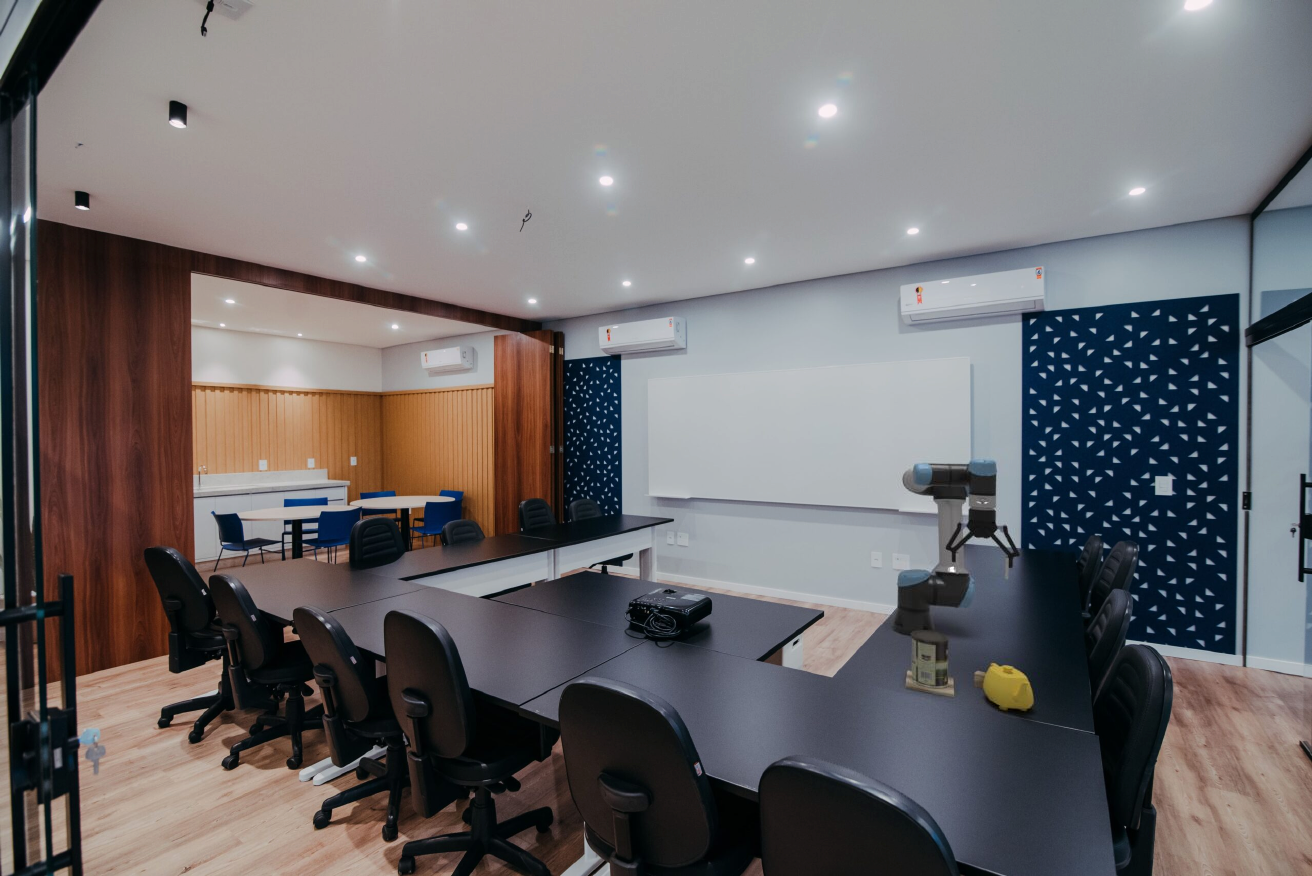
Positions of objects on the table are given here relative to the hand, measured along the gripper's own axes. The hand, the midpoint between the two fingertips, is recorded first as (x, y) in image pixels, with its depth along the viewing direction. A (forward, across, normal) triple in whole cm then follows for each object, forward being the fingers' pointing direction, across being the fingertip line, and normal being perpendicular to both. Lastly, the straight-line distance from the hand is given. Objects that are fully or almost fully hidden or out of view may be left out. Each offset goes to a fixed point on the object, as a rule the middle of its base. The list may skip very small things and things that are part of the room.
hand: (981, 575), depth 179 cm
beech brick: (+32, +2, -8) cm, 33 cm away
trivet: (+32, -14, -14) cm, 38 cm away
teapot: (+32, +7, -18) cm, 38 cm away
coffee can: (+31, -14, -14) cm, 37 cm away
